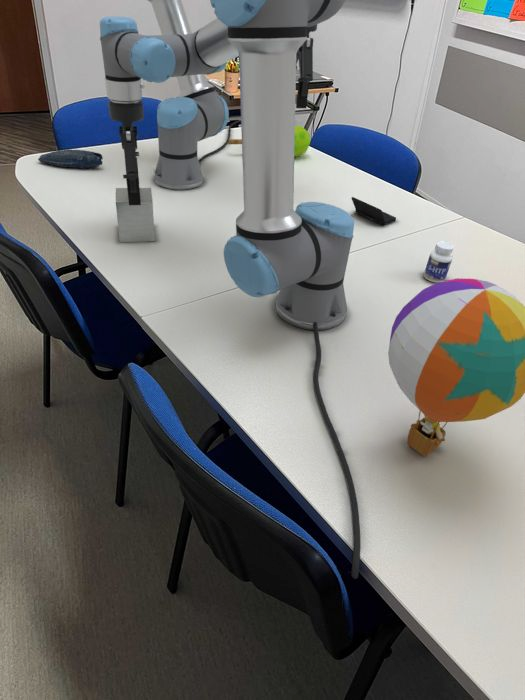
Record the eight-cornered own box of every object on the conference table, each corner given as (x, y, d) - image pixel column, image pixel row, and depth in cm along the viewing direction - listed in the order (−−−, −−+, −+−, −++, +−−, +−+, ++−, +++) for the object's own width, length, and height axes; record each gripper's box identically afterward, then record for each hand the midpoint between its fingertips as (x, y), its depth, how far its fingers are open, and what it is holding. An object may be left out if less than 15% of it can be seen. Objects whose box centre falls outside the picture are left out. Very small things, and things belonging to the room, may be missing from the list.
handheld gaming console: (400, 212, 153) (393, 191, 145) (389, 233, 152) (381, 212, 144) (365, 206, 159) (356, 185, 151) (355, 225, 158) (345, 205, 150)
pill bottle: (422, 279, 126) (432, 247, 121) (424, 270, 130) (434, 238, 125) (444, 285, 125) (455, 252, 120) (446, 275, 129) (457, 243, 124)
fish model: (99, 172, 164) (97, 156, 161) (35, 165, 165) (32, 149, 162) (106, 165, 170) (105, 149, 167) (44, 159, 171) (41, 143, 168)
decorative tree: (225, 119, 187) (305, 119, 192) (225, 149, 194) (302, 148, 199) (232, 134, 173) (318, 133, 179) (232, 165, 180) (315, 164, 185)
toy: (336, 437, 84) (375, 278, 66) (409, 388, 95) (460, 239, 76) (438, 521, 73) (519, 358, 55) (507, 455, 84) (595, 300, 65)
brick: (154, 241, 132) (152, 201, 125) (119, 242, 130) (115, 201, 124) (153, 226, 139) (150, 187, 132) (119, 227, 137) (115, 187, 130)
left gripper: (333, 20, 124) (320, 114, 138) (304, 6, 143) (296, 90, 156) (303, 18, 123) (293, 113, 136) (278, 5, 142) (271, 90, 155)
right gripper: (144, 114, 106) (152, 213, 119) (141, 87, 125) (147, 175, 138) (106, 114, 104) (118, 214, 117) (108, 87, 123) (118, 176, 136)
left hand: (294, 101), depth 146 cm, fingers open, 13 cm apart
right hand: (134, 193), depth 127 cm, fingers open, 13 cm apart
